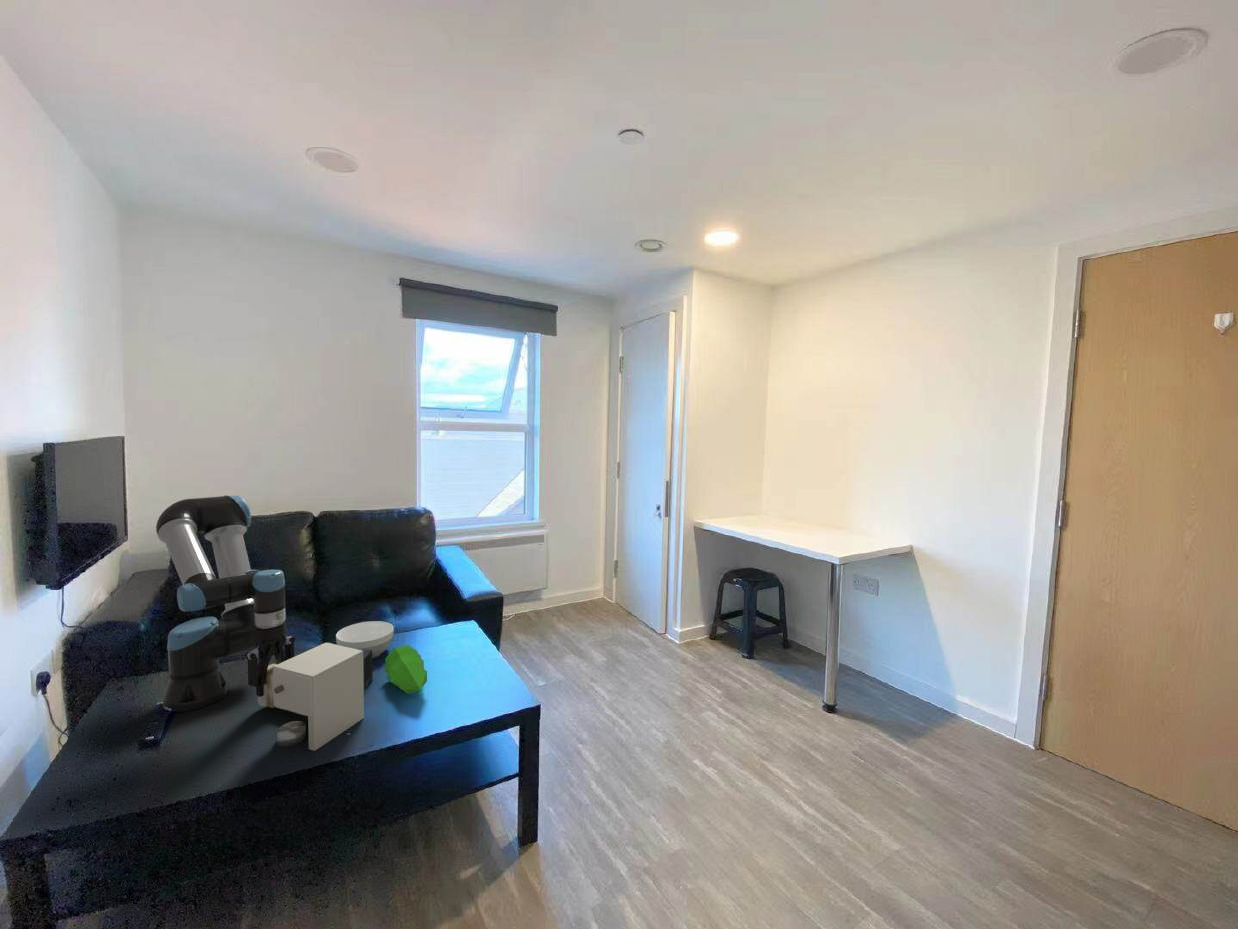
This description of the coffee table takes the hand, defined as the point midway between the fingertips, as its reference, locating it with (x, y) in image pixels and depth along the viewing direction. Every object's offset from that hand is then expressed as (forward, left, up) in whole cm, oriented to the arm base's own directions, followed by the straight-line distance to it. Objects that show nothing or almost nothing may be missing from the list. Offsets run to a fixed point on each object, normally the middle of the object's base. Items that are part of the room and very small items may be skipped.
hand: (273, 700), depth 152 cm
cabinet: (+22, -2, -2) cm, 22 cm away
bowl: (-2, +37, -2) cm, 37 cm away
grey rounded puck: (+19, -9, -2) cm, 21 cm away
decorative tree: (+28, +24, -2) cm, 36 cm away
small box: (+11, +19, -2) cm, 22 cm away
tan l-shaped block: (+8, 0, 0) cm, 8 cm away
